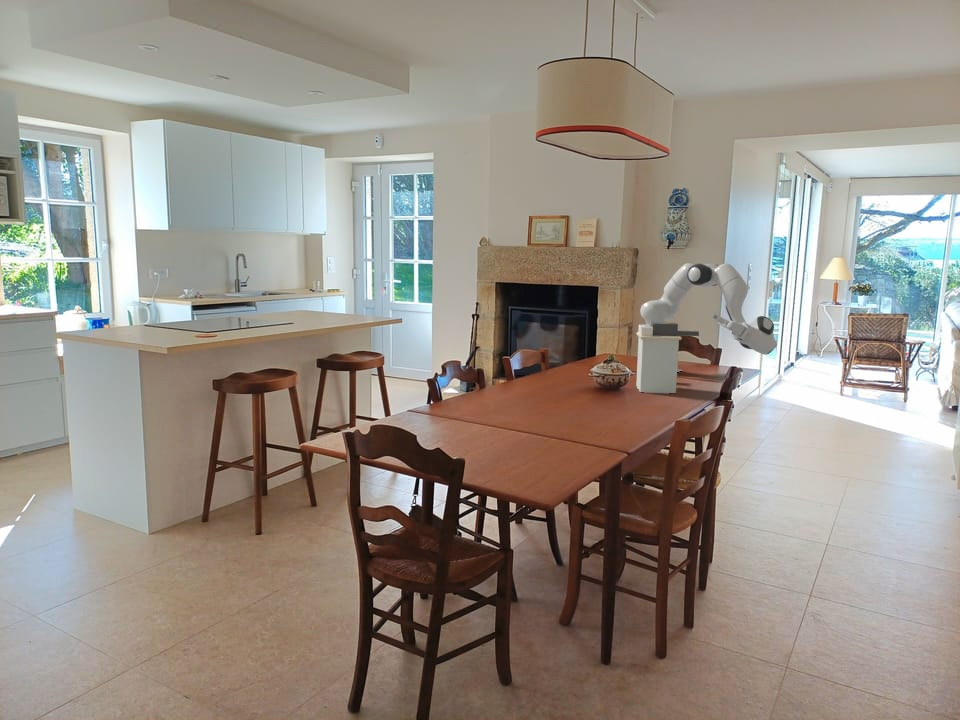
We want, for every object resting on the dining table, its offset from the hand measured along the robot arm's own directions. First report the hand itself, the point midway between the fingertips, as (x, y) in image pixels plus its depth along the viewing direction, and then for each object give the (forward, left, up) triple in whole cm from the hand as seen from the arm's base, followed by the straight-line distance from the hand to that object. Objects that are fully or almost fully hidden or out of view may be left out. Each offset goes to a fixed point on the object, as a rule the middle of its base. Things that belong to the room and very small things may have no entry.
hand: (715, 316), depth 312 cm
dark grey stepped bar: (+14, -14, -9) cm, 21 cm away
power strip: (+22, -22, -9) cm, 33 cm away
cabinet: (+18, -18, -35) cm, 43 cm away
